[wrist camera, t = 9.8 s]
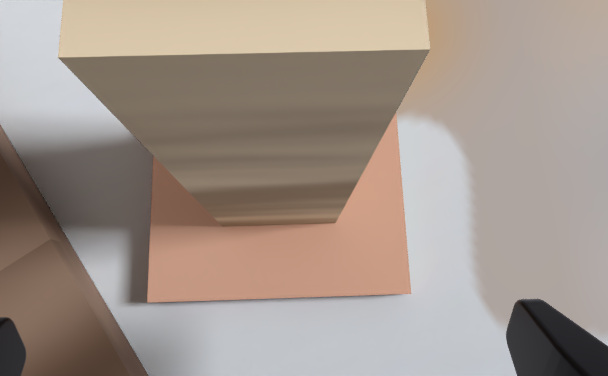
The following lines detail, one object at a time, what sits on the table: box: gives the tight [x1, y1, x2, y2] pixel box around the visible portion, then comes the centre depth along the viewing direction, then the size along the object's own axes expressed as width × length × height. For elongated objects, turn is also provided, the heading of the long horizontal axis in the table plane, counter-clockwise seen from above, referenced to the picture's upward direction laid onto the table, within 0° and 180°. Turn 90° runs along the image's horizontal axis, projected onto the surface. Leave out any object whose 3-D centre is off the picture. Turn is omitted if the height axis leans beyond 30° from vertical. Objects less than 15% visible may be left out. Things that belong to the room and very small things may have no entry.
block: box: [58, 0, 430, 227], centre depth 11 cm, size 4×4×12 cm
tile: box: [147, 113, 411, 303], centre depth 18 cm, size 9×9×1 cm
